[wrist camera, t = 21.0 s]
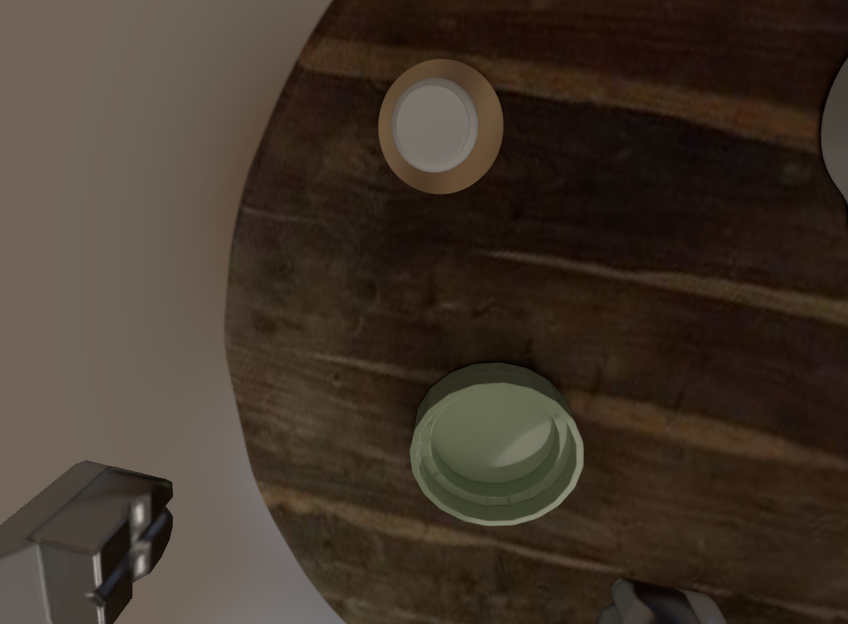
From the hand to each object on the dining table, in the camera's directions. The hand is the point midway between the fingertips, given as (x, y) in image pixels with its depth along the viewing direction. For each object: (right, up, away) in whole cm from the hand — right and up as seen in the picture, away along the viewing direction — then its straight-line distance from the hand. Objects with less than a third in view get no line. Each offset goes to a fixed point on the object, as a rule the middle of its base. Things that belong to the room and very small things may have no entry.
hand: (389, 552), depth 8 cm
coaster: (+2, +18, +25) cm, 30 cm away
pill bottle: (+2, +17, +24) cm, 30 cm away
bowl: (+7, -7, +33) cm, 34 cm away
